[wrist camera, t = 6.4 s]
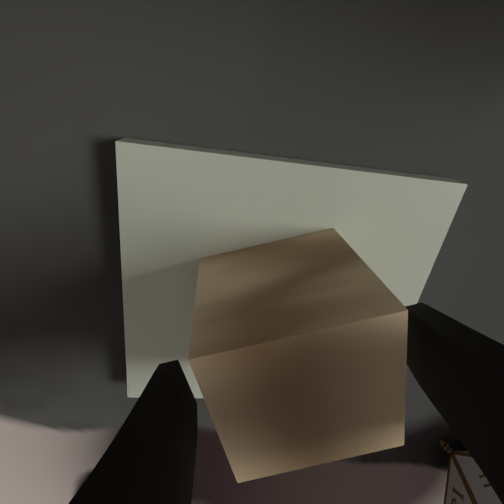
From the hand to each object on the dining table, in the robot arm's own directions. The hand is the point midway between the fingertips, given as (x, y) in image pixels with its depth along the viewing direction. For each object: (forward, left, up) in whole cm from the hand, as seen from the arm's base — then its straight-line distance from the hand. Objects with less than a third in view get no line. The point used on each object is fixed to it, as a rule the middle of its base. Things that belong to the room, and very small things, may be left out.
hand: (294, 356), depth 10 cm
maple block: (0, 0, -3) cm, 3 cm away
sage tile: (0, 0, -4) cm, 4 cm away
